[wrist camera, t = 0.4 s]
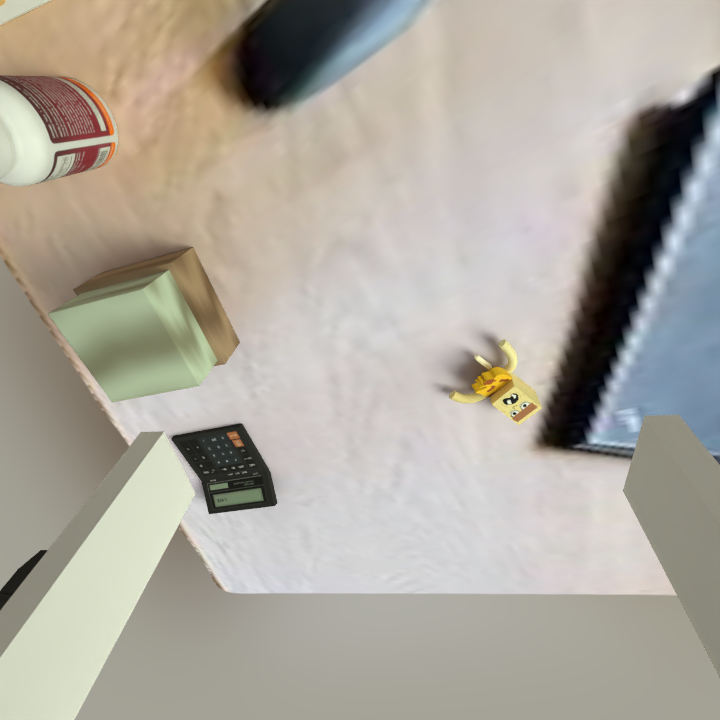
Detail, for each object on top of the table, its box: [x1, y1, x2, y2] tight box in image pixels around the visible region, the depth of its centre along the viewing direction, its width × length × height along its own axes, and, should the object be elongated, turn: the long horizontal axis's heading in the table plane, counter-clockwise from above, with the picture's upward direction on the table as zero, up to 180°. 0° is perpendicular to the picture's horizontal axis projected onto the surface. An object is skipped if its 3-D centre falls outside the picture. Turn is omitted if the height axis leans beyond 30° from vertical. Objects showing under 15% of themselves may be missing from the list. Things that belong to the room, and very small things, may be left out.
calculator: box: [172, 423, 277, 514], centre depth 51 cm, size 9×12×3 cm
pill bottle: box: [0, 76, 118, 186], centre depth 28 cm, size 6×6×11 cm
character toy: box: [449, 340, 542, 425], centre depth 40 cm, size 8×3×8 cm
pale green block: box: [48, 247, 240, 402], centre depth 38 cm, size 10×10×8 cm
